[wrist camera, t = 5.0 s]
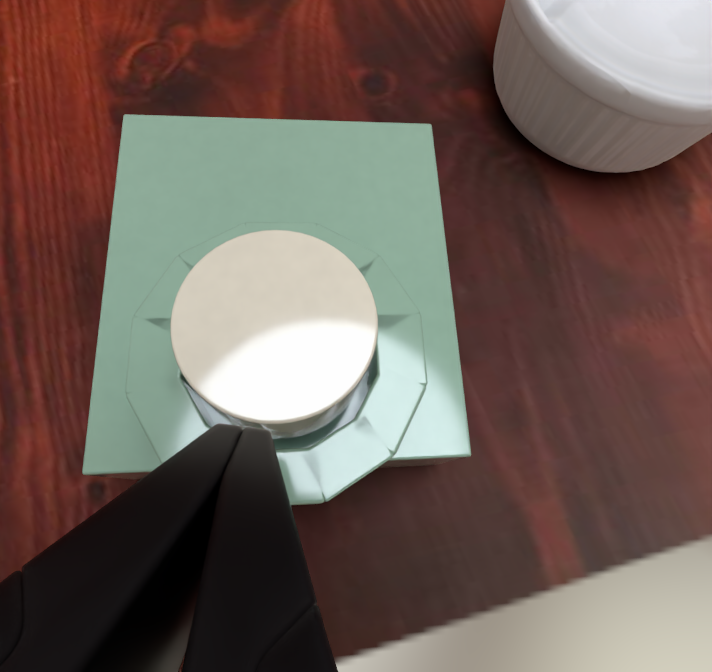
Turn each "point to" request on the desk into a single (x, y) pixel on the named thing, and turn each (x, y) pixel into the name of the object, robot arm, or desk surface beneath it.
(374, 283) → the button base
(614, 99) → the ramekin
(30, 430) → the desk surface
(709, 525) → the desk surface
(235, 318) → the cream cylindrical button
